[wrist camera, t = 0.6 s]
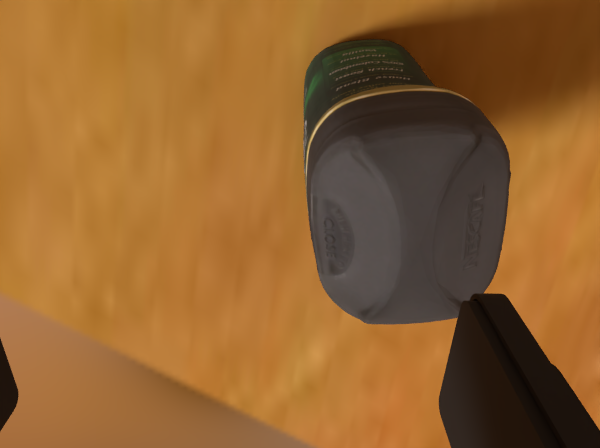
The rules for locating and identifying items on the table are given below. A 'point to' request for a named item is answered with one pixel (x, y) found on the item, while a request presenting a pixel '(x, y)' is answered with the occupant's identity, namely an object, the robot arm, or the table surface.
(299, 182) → the table surface
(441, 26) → the table surface
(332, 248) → the coffee jar
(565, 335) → the table surface
